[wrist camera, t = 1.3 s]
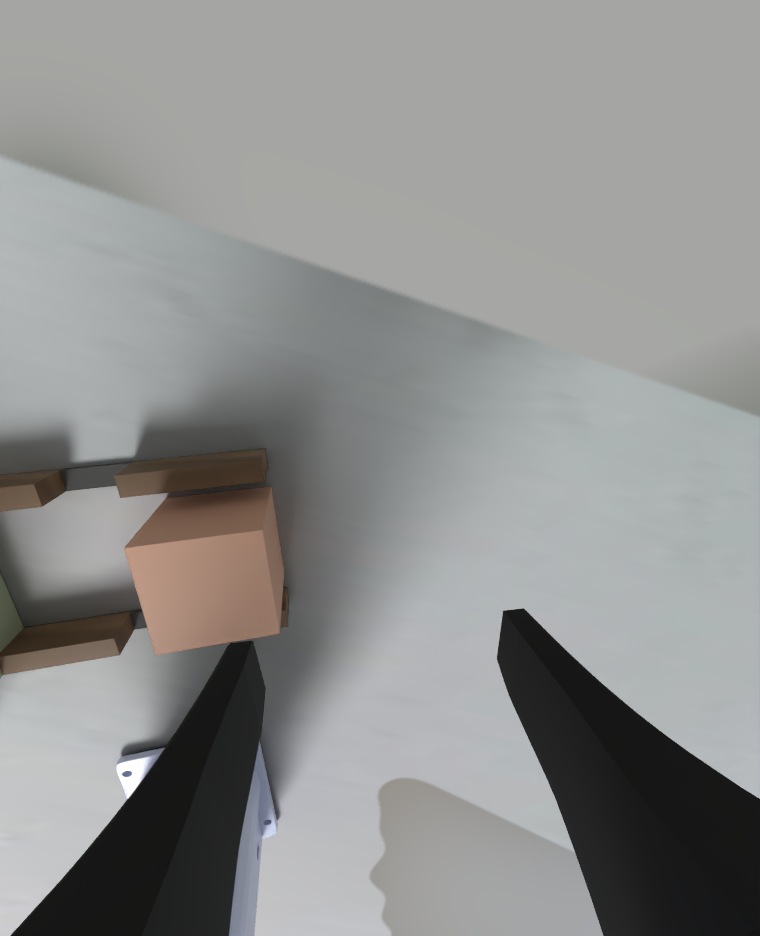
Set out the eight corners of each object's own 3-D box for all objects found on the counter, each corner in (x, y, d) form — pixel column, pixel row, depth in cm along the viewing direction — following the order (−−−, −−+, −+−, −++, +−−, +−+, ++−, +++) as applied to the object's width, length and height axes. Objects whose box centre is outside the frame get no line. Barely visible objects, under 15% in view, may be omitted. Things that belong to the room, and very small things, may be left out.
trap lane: (289, 602, 22) (287, 640, 19) (8, 647, 20) (-40, 697, 17) (265, 448, 19) (258, 467, 17) (-66, 482, 17) (-138, 509, 14)
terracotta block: (284, 570, 22) (279, 633, 17) (187, 584, 21) (155, 655, 16) (271, 485, 20) (262, 530, 15) (166, 497, 19) (123, 548, 15)
